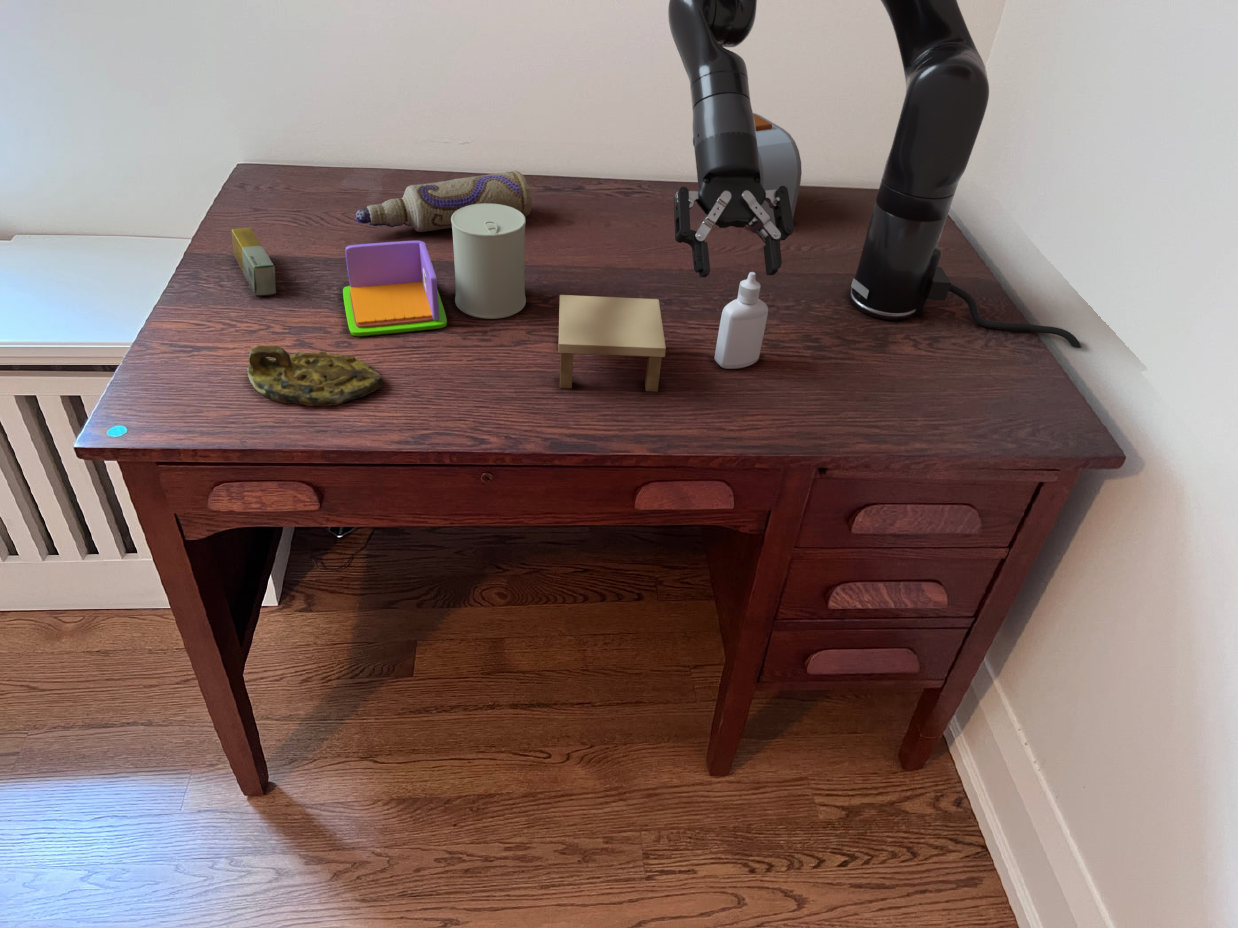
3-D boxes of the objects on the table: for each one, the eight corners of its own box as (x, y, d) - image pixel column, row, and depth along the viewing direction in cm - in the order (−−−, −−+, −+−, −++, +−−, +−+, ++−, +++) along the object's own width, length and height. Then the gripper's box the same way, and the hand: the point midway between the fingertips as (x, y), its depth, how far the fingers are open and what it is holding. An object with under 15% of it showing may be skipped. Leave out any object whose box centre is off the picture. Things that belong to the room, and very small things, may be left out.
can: (460, 322, 112) (455, 233, 104) (450, 286, 118) (445, 201, 111) (532, 316, 114) (532, 229, 106) (518, 282, 121) (518, 197, 113)
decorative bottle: (515, 204, 140) (515, 162, 135) (533, 224, 135) (533, 182, 130) (350, 225, 130) (344, 181, 126) (363, 248, 125) (357, 203, 121)
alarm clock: (699, 193, 148) (710, 111, 140) (741, 187, 152) (754, 106, 143) (749, 230, 138) (764, 144, 130) (792, 222, 142) (810, 138, 133)
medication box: (277, 295, 114) (275, 266, 111) (255, 297, 112) (253, 268, 110) (253, 253, 121) (250, 225, 119) (232, 255, 120) (229, 227, 117)
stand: (653, 342, 111) (658, 299, 107) (660, 393, 103) (666, 348, 99) (558, 338, 110) (559, 294, 106) (556, 389, 102) (558, 343, 98)
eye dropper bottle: (760, 372, 108) (778, 284, 100) (714, 368, 108) (728, 280, 100) (757, 353, 111) (775, 266, 103) (712, 349, 111) (727, 262, 103)
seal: (391, 370, 104) (260, 364, 103) (388, 334, 102) (254, 327, 100) (376, 410, 96) (235, 404, 95) (373, 372, 94) (228, 365, 93)
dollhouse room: (434, 282, 119) (431, 234, 115) (449, 328, 110) (446, 279, 106) (341, 290, 116) (334, 241, 111) (350, 338, 107) (342, 287, 103)
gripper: (676, 129, 102) (690, 267, 100) (792, 129, 104) (807, 263, 103) (660, 157, 109) (673, 285, 108) (769, 156, 112) (783, 281, 111)
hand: (739, 274), depth 106 cm, fingers open, 8 cm apart
